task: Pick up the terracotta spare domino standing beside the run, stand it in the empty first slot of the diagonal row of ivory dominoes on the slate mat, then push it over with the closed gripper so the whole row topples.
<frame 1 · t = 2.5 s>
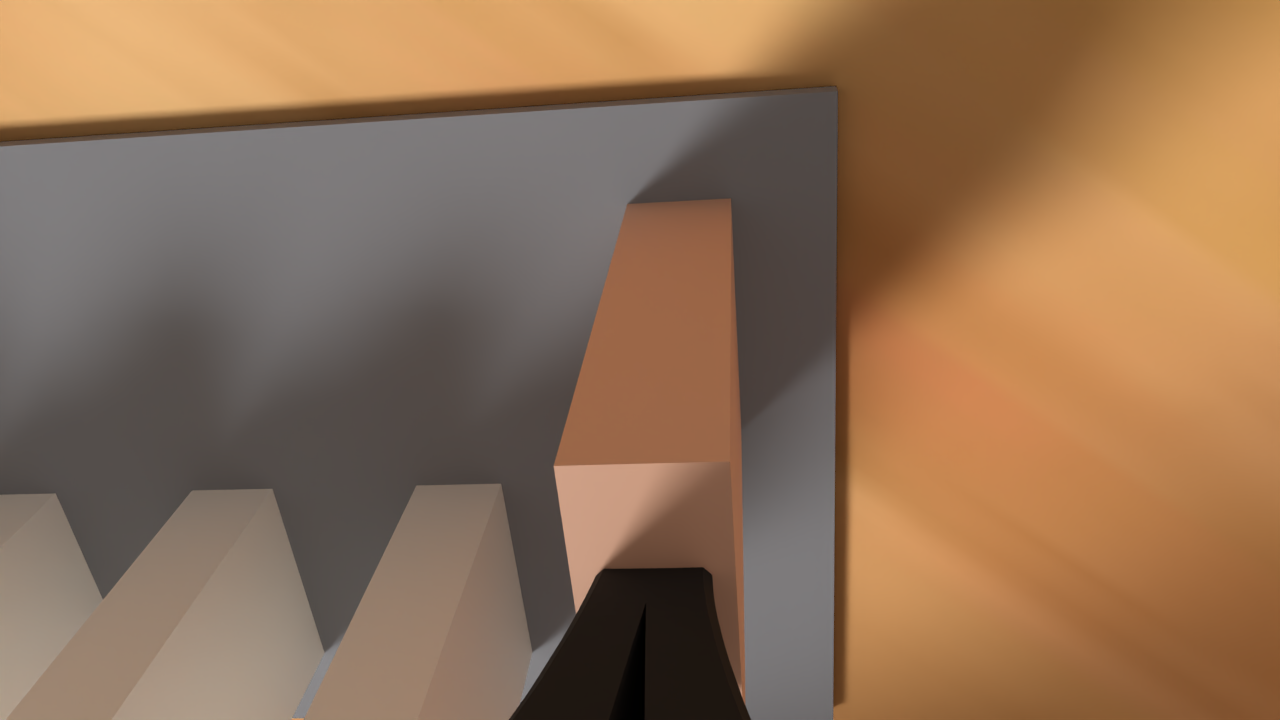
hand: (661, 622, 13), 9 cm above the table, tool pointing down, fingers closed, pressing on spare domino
domino 4: (56, 577, 25), resting on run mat
spare domino: (687, 322, 20), resting on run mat, touching gripper
domino 2: (477, 572, 24), resting on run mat
domino 3: (261, 575, 25), resting on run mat
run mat: (267, 564, 25), on the table
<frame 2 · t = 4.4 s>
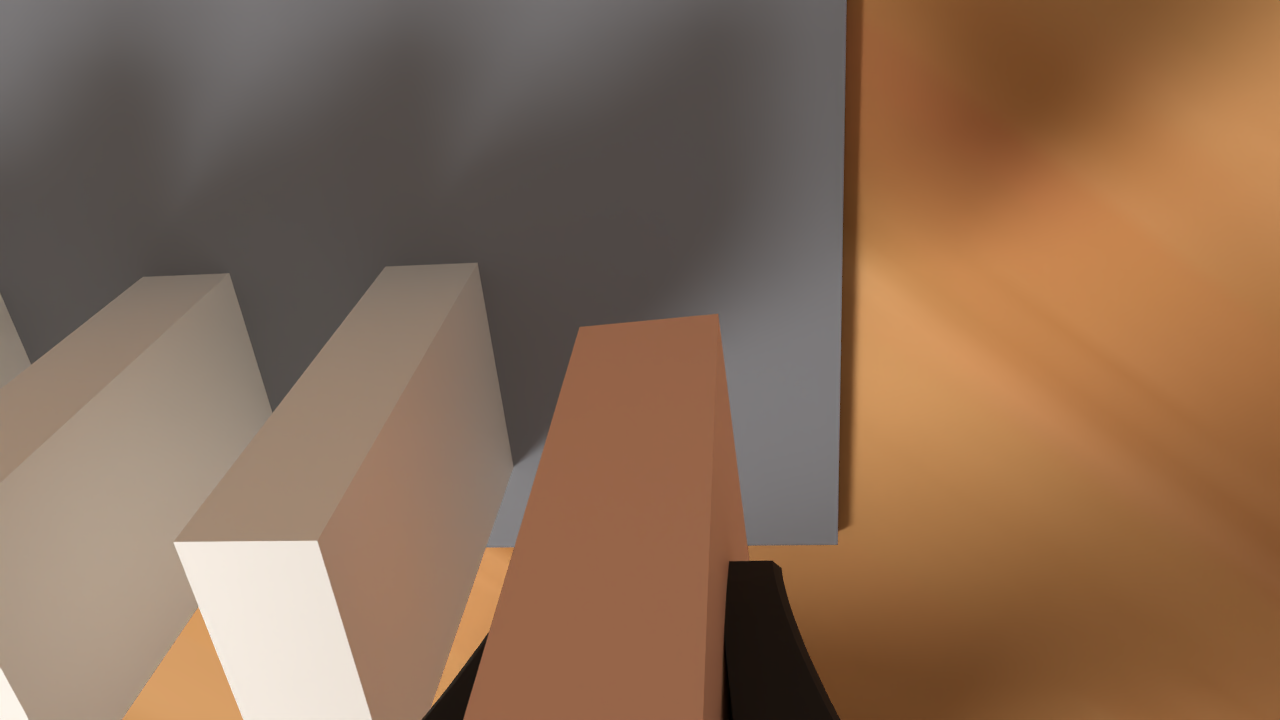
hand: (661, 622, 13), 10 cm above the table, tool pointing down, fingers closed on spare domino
domino 4: (0, 385, 23), resting on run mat
spare domino: (672, 468, 15), point 7 cm above the table, touching gripper
domino 2: (452, 371, 22), resting on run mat
domino 3: (220, 378, 23), resting on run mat
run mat: (228, 369, 23), on the table
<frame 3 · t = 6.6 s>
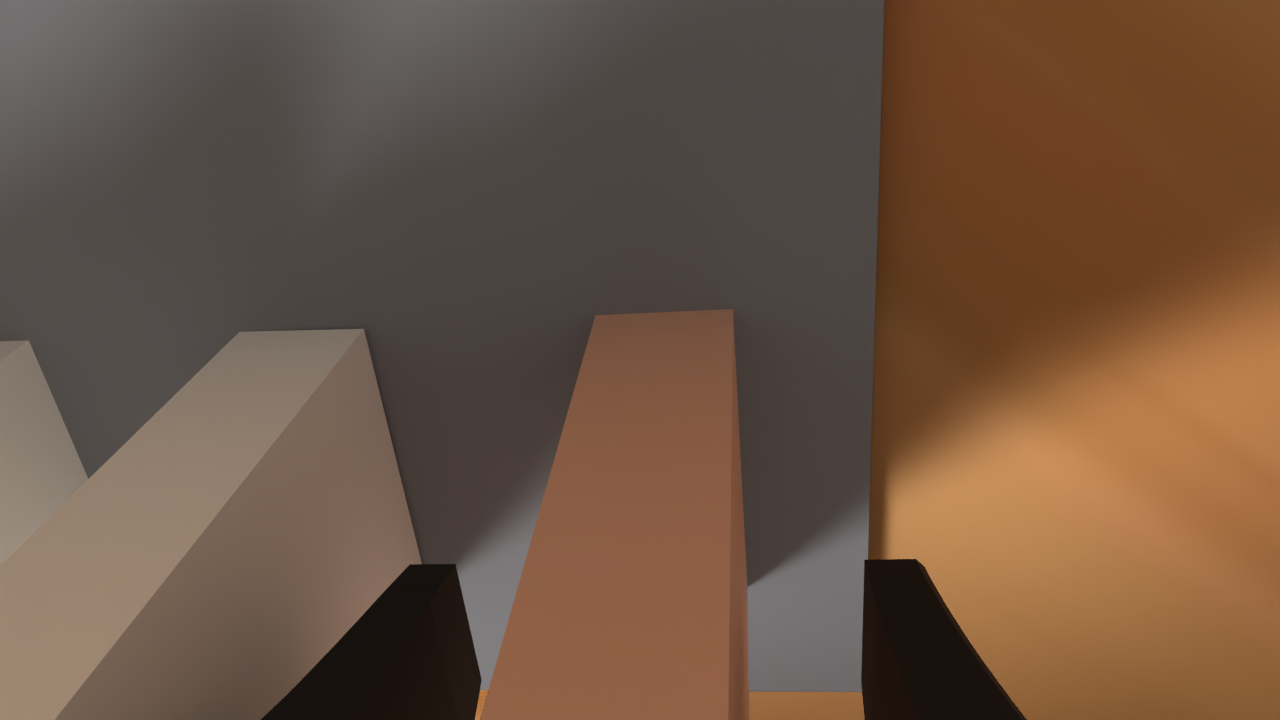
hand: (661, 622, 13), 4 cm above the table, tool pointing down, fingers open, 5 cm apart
spare domino: (676, 460, 16), resting on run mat
domino 2: (340, 471, 16), resting on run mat, touching gripper
domino 3: (32, 477, 17), resting on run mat
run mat: (47, 463, 17), on the table
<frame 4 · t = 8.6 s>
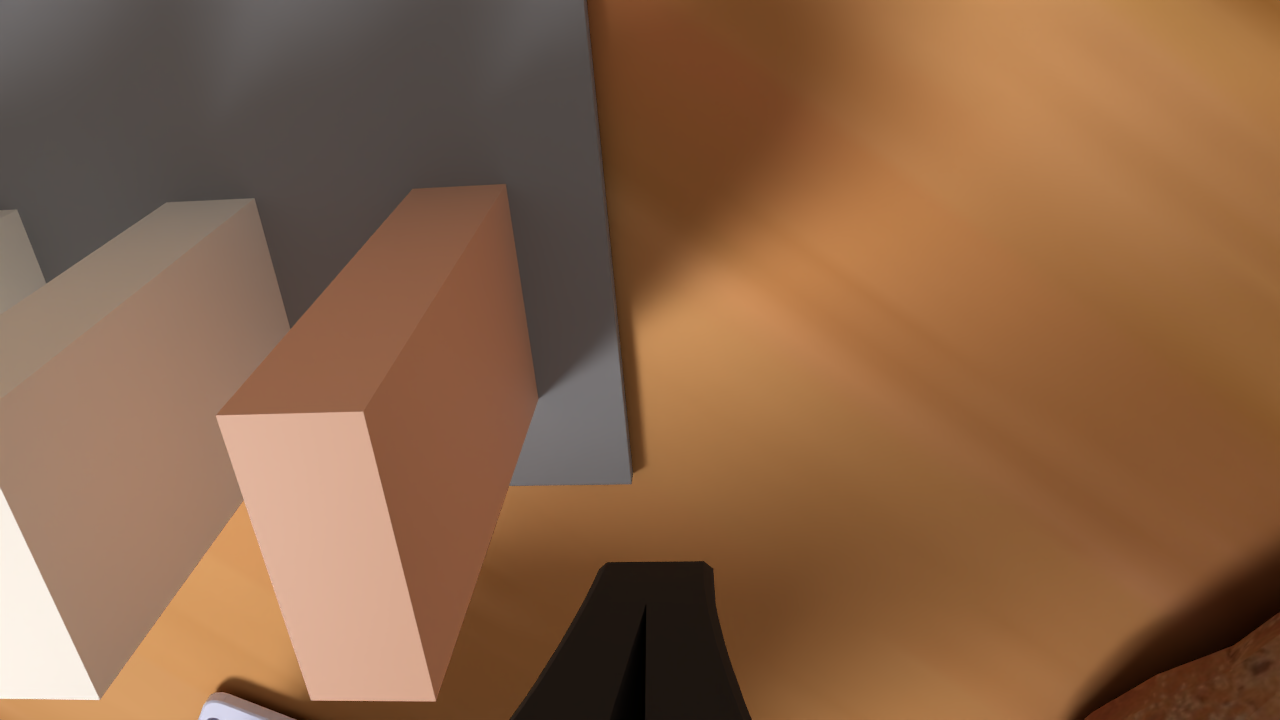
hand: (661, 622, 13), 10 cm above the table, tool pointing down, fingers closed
spare domino: (478, 299, 22), resting on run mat
domino 2: (242, 309, 23), resting on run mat
domino 3: (19, 317, 23), resting on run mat
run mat: (29, 309, 23), on the table
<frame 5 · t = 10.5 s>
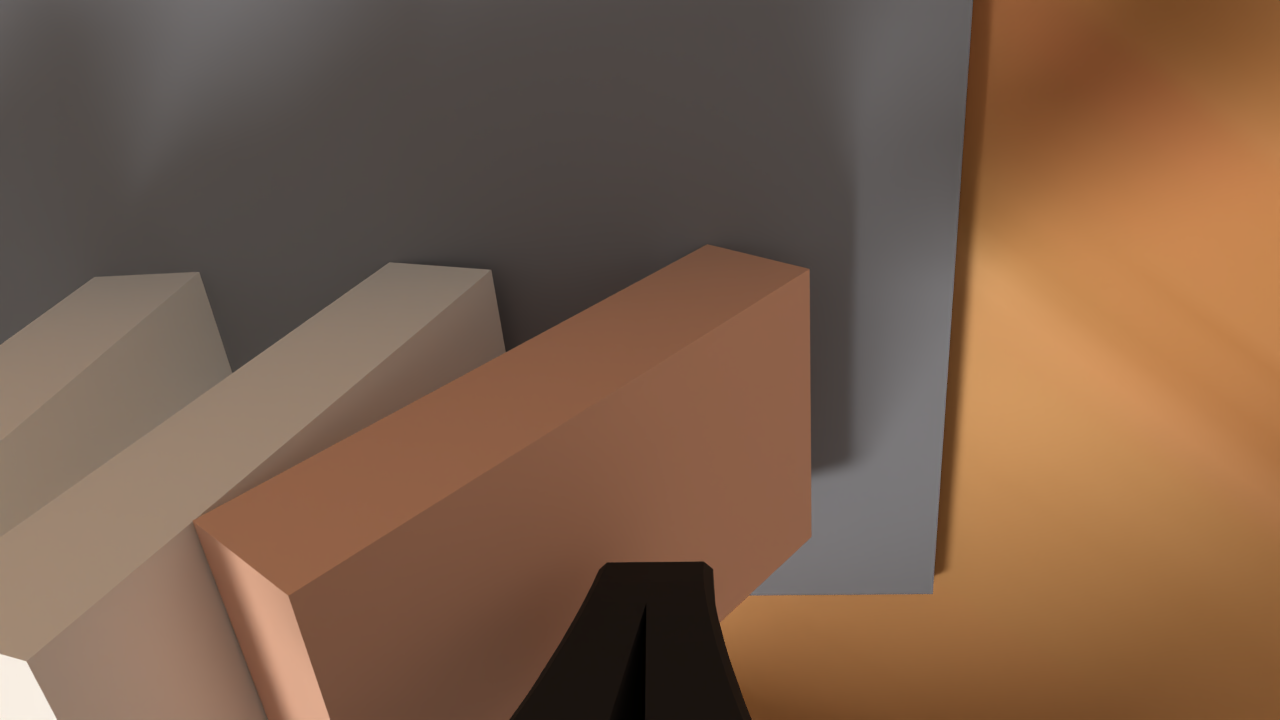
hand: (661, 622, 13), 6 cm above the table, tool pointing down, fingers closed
spare domino: (761, 395, 17), point 1 cm above the table, tilted 37°, touching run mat
domino 2: (465, 397, 18), point 1 cm above the table, tilted 16°, touching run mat
domino 3: (190, 399, 19), resting on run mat
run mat: (200, 388, 19), on the table
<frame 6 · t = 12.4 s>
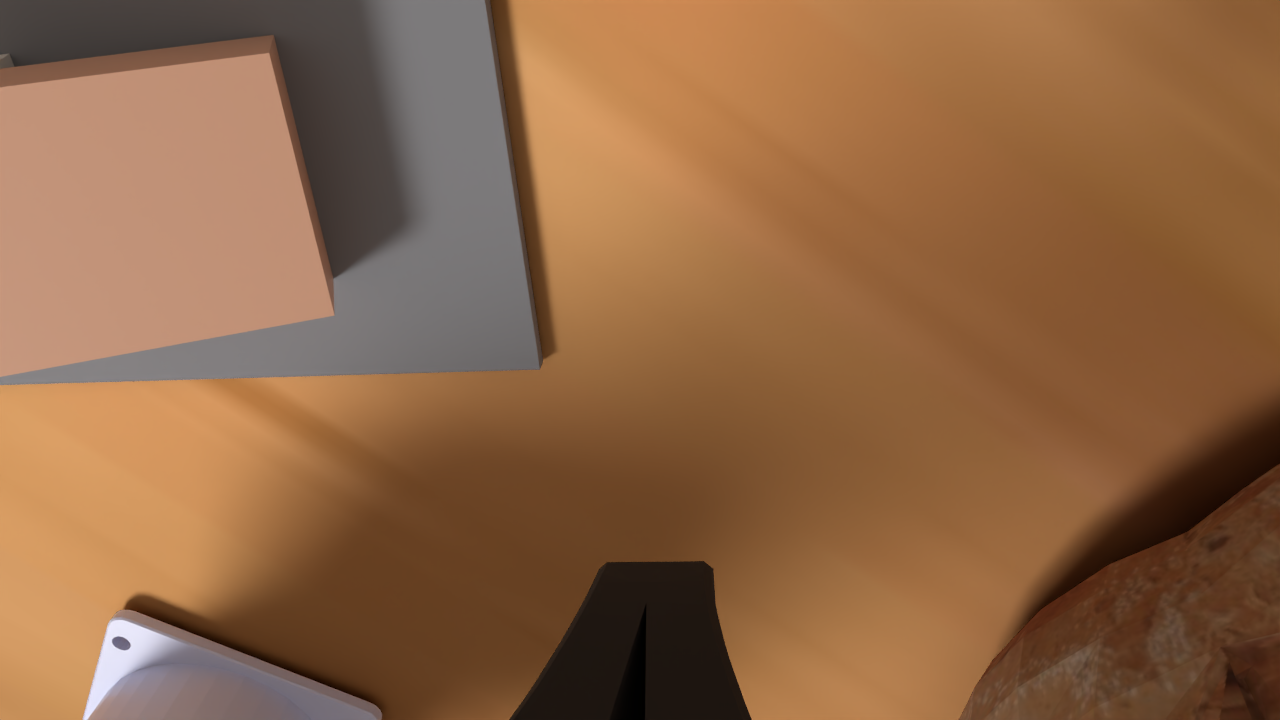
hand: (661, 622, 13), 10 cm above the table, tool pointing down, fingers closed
spare domino: (304, 177, 20), point 1 cm above the table, tilted 69°, touching domino 2, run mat
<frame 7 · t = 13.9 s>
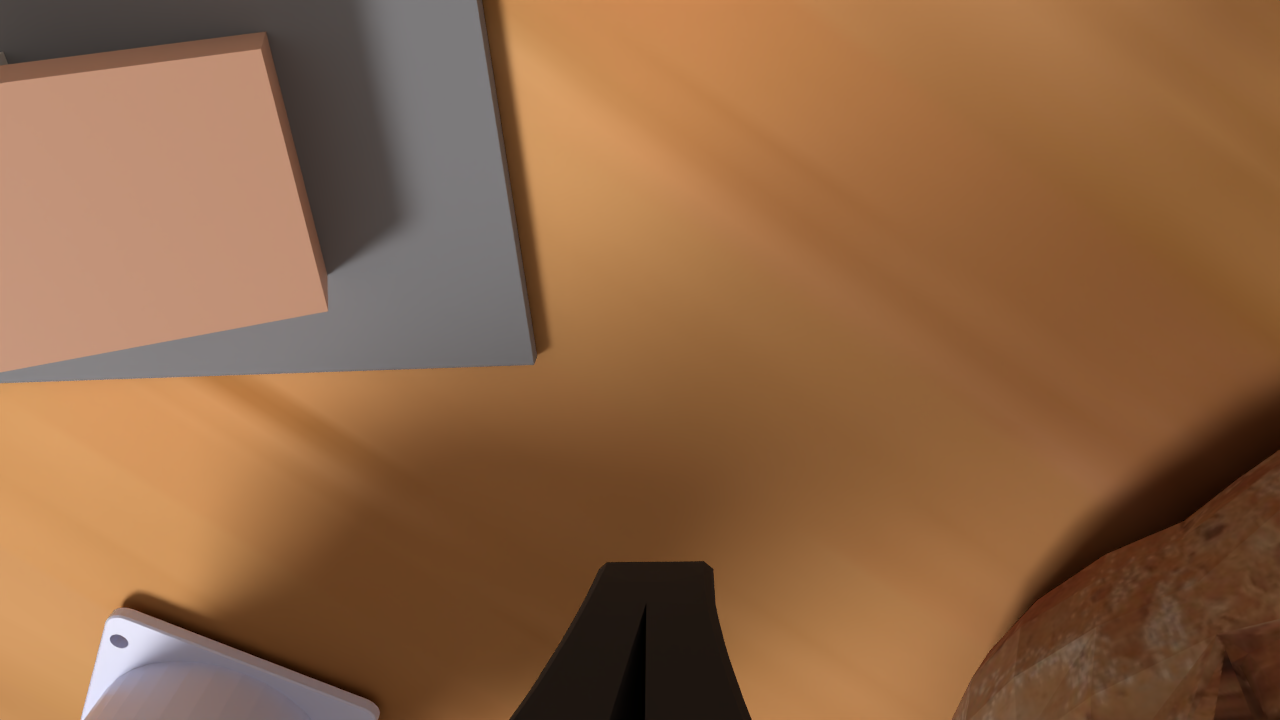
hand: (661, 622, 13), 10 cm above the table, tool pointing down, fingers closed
spare domino: (297, 174, 20), point 1 cm above the table, tilted 69°, touching domino 2, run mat
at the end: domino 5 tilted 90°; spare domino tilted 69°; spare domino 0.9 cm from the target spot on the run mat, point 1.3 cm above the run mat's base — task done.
